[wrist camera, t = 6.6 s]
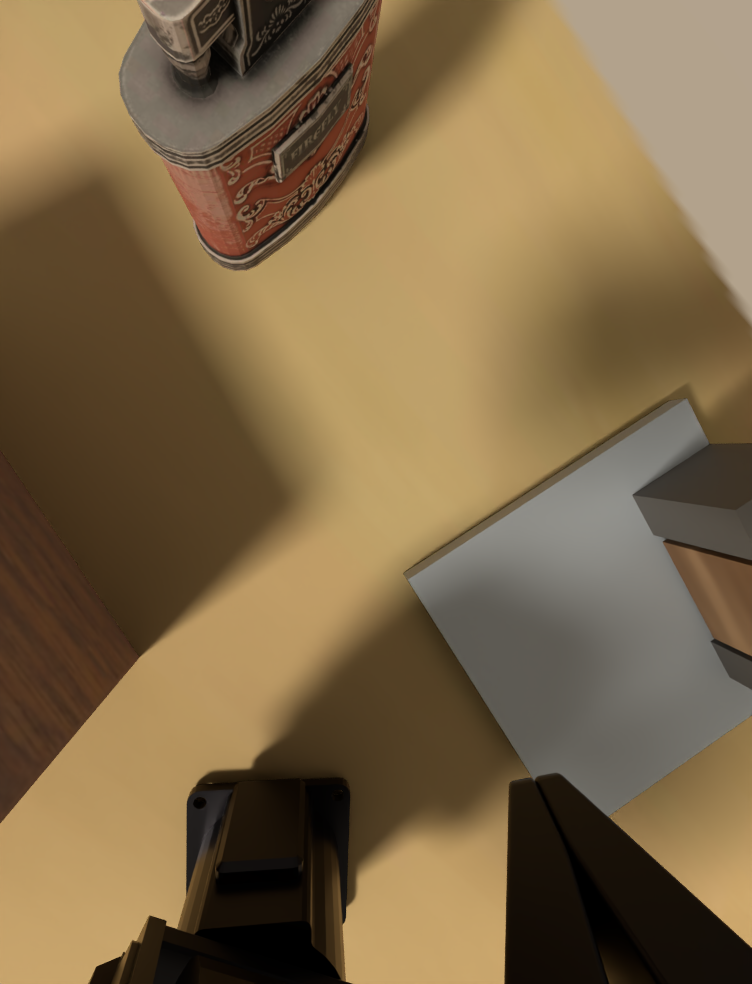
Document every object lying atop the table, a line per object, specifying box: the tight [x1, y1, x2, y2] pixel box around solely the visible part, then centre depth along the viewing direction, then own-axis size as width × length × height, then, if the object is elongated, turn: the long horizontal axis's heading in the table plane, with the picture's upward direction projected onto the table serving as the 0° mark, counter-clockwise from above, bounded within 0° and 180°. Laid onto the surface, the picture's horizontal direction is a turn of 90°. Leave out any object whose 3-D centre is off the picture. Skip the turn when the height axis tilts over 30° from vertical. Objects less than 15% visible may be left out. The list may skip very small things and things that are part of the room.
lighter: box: [119, 0, 382, 271], centre depth 13 cm, size 8×3×10 cm, turn 138°
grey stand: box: [403, 398, 752, 816], centre depth 19 cm, size 14×14×6 cm
